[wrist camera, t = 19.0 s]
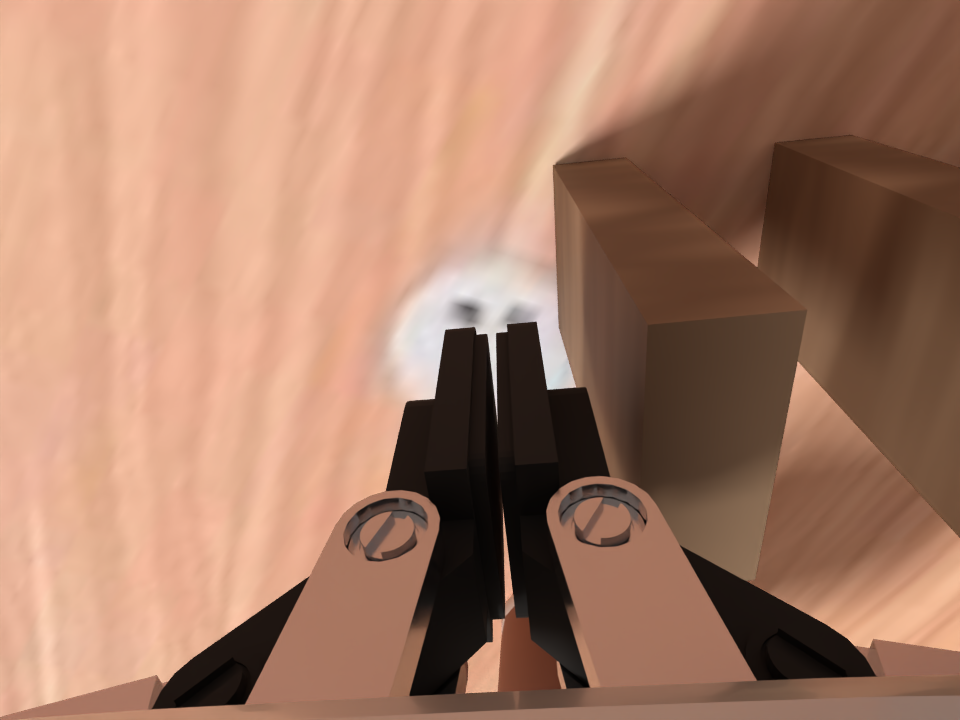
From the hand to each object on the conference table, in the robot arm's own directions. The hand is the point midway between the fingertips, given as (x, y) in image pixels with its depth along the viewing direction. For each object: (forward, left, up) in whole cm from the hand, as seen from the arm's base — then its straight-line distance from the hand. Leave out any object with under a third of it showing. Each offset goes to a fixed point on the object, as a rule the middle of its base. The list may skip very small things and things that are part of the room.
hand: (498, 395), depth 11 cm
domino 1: (-2, -1, -8) cm, 8 cm away
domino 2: (-8, -4, -8) cm, 12 cm away
